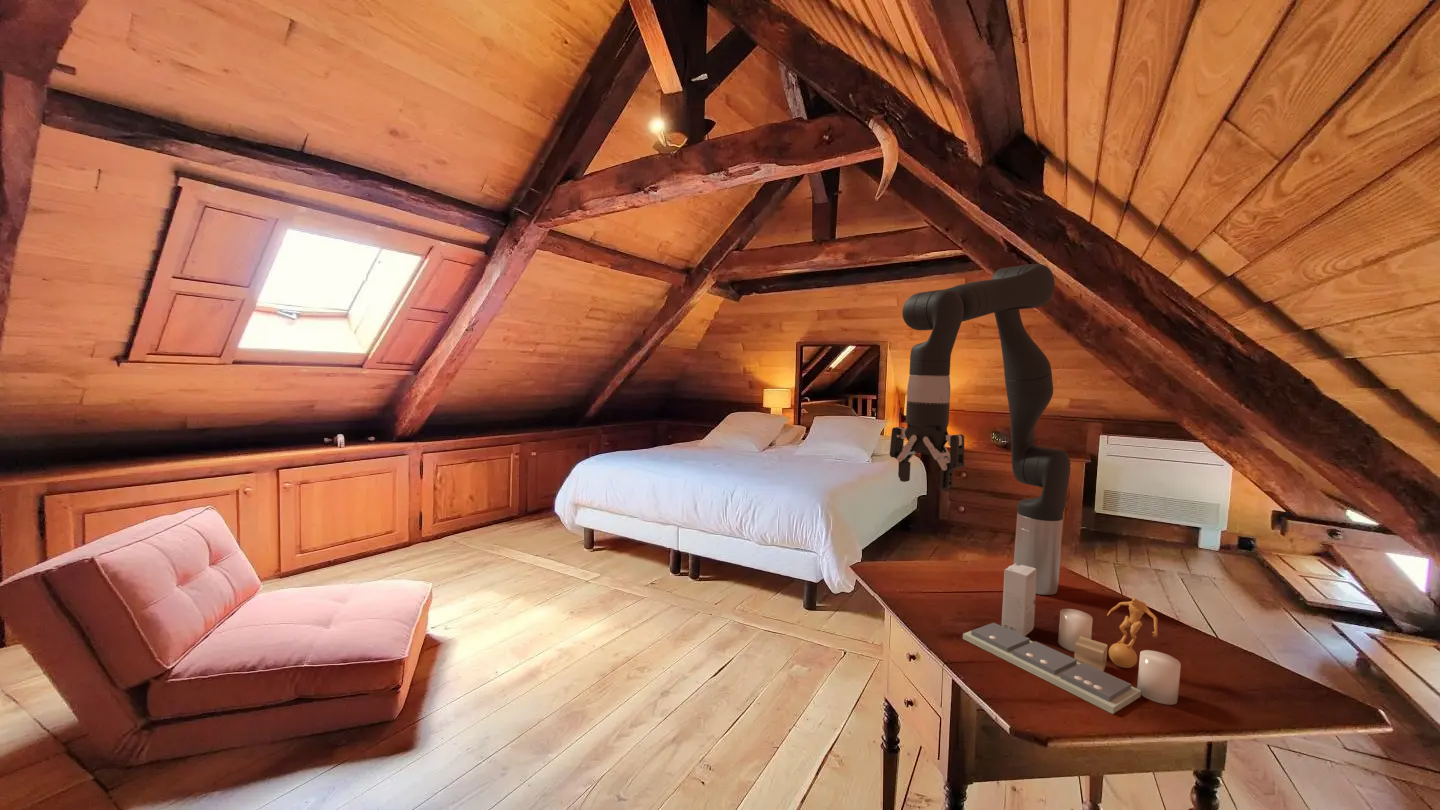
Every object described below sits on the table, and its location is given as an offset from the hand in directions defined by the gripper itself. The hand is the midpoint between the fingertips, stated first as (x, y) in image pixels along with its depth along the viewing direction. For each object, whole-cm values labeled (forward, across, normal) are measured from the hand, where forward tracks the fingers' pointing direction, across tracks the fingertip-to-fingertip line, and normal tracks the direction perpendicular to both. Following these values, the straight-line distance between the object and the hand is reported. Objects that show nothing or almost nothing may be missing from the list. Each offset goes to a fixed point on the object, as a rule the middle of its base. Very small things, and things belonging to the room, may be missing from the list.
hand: (923, 485), depth 102 cm
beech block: (+29, -24, -15) cm, 40 cm away
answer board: (+29, -19, -9) cm, 36 cm away
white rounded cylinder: (+29, -19, -21) cm, 40 cm away
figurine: (+29, -27, -21) cm, 45 cm away
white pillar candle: (+29, -33, -15) cm, 47 cm away
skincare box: (+29, -10, -18) cm, 36 cm away
